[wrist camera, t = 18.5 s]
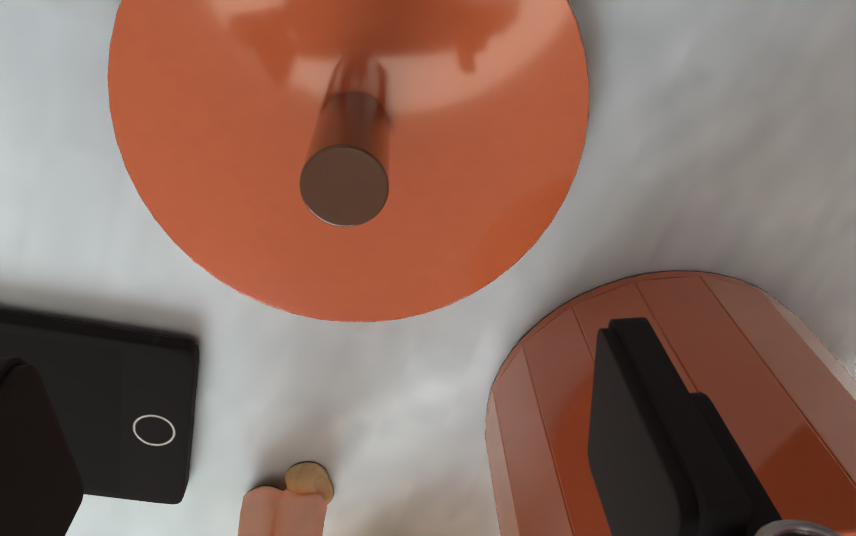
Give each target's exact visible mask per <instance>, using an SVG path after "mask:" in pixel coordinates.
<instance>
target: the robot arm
mask: <svg viewBox="0 0 856 536" xmlns="http://www.w3.org/2000/svg"><path fill="white" fill-rule="evenodd" d="M587 451H588V461H589V467H590V470H591V473H592V476H593V480H594V483H595V486H596V489H597V492H598V495H599V498H600V501H601V504H602V507H603V510H604V513H605V516H606V519H607V522H608V525H609V528H610V531H611V534H612V536H842V535H840V534H838V533H836V532H835V531H833V530H831V529H829V528H827V527H824V526H821V525H818V524H815V523H812V522H809V521H802V520H793V519H786V520H783V519H782V518H781V516H780V514H779V513H778V511H777V509H776V508H775V506H774V504H773V503H772V501H771V499H770V498H769V496H768V494H767V493H766V491H765V489H764V488H763V486H762V484H761V483H760V481H759V479H758V478H757V476H756V474H755V473H754V471H753V469H752V468H751V466H750V464H749V463H748V461H747V459H746V458H745V456H744V454H743V453H742V451H741V449H740V448H739V446H738V444H737V443H736V441H735V439H734V438H733V436H732V434H731V433H730V431H729V429H728V428H727V426H726V424H725V423H724V421H723V419H722V418H721V416H720V414H719V413H718V411H717V409H716V408H715V406H714V404H713V403H712V401H711V400H710V398H709V397H708V396H707V395H706V394H704V393H702V392H694V393H689V391H688V390H687V388H686V386H685V384H684V383H683V381H682V379H681V377H680V375H679V374H678V372H677V370H676V368H675V367H674V365H673V363H672V361H671V360H670V358H669V356H668V354H667V353H666V351H665V349H664V347H663V345H662V344H661V342H660V340H659V338H658V337H657V335H656V333H655V331H654V330H653V328H652V326H651V324H650V323H649V321H648V320H647V318H645V317H635V318H619V319H611V320H610V322H609V324H608V328H600V329H599V330H598V333H597V342H596V354H595V365H594V377H593V389H592V400H591V412H590V424H589V435H588V450H587ZM83 492H84V486H83V481H82V478H81V475H80V473H79V470H78V468H77V465H76V463H75V461H74V458H73V456H72V453H71V451H70V448H69V446H68V443H67V441H66V438H65V436H64V433H63V431H62V429H61V426H60V424H59V421H58V419H57V416H56V414H55V411H54V409H53V406H52V404H51V402H50V399H49V397H48V394H47V392H46V389H45V387H44V384H43V382H42V379H41V377H40V375H39V372H38V370H37V369H36V368H35V367H34V366H33V365H28V364H27V363H26V361H25V360H24V359H22V358H20V357H8V358H0V536H65V534H66V532H67V530H68V528H69V526H70V524H71V522H72V520H73V518H74V516H75V514H76V512H77V510H78V508H79V506H80V504H81V502H82V498H83Z"/></svg>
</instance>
